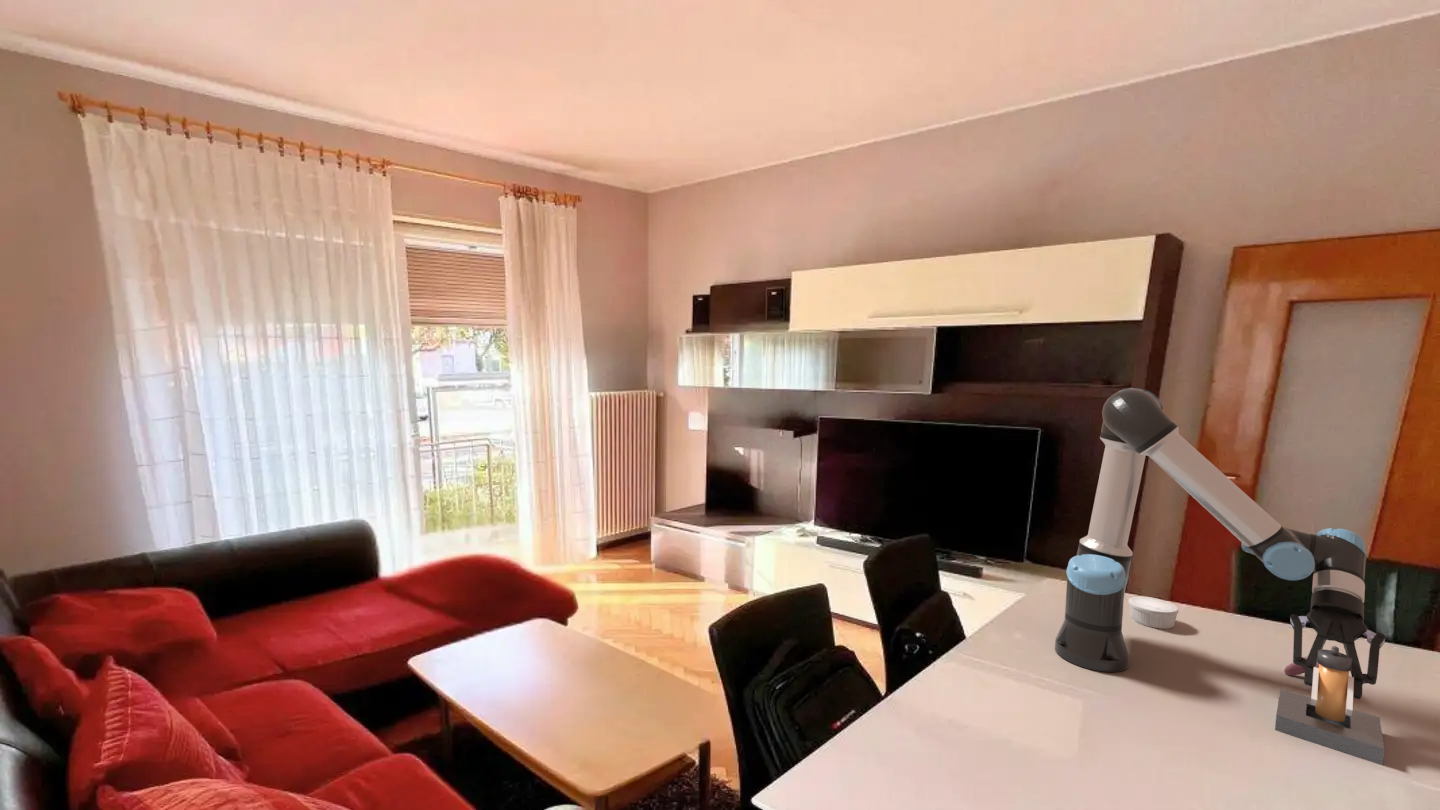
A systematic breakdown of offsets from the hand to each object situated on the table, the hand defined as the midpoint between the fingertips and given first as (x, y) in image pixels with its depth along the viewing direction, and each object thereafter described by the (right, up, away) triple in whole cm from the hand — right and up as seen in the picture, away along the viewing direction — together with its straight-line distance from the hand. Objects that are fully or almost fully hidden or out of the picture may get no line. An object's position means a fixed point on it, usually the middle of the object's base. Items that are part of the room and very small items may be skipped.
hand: (1331, 707), depth 113 cm
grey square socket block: (+2, -6, +3) cm, 7 cm away
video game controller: (+17, -6, +20) cm, 27 cm away
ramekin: (+4, -3, +53) cm, 53 cm away
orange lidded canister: (+3, -3, +3) cm, 5 cm away
